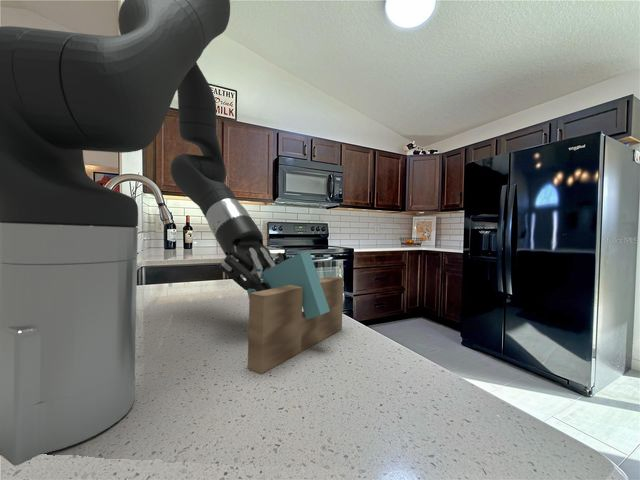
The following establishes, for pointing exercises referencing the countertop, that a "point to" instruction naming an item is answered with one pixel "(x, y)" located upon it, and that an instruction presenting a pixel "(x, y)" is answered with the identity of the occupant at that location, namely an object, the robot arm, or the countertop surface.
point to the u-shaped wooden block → (289, 323)
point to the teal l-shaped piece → (299, 282)
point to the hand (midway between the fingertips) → (280, 303)
